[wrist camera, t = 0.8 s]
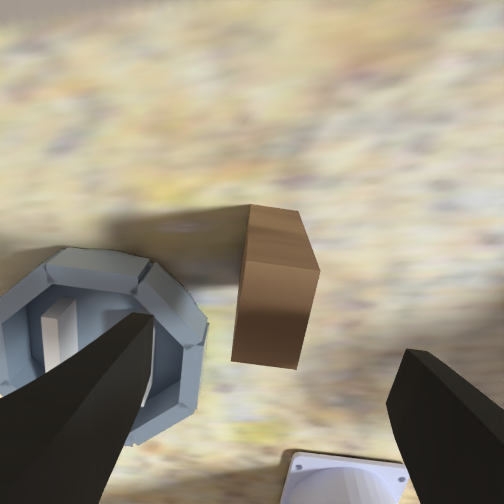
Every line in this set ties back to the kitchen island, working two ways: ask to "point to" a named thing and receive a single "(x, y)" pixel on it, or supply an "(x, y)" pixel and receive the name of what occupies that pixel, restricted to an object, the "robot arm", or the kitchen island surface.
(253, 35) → the kitchen island surface
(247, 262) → the wooden rectangular block
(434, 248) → the kitchen island surface
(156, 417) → the blue-grey octagonal tray
